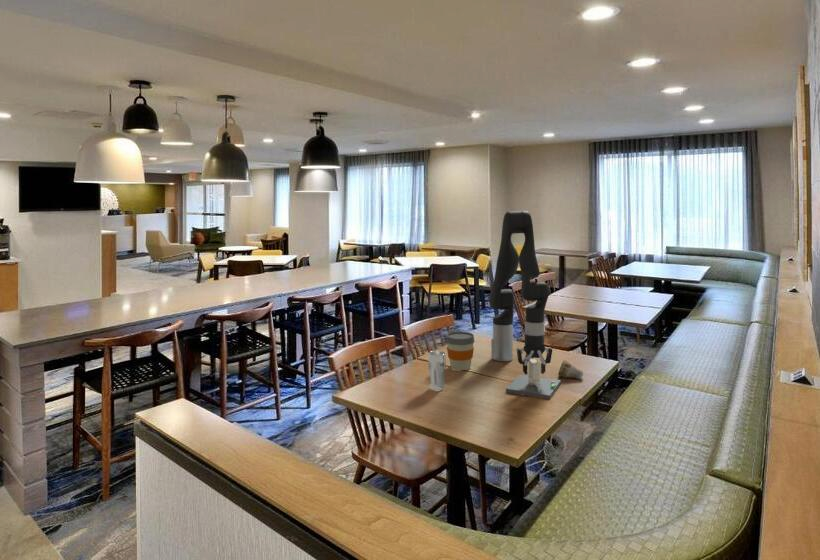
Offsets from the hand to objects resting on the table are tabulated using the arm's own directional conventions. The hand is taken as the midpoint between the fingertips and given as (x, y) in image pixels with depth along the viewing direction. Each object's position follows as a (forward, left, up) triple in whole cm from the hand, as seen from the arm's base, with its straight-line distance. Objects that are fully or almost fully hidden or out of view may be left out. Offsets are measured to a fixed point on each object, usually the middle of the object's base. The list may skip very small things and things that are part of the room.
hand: (534, 373), depth 205 cm
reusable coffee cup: (-37, +11, -6) cm, 39 cm away
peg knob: (+1, -1, -4) cm, 5 cm away
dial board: (0, 0, -6) cm, 6 cm away
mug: (+10, +19, -6) cm, 22 cm away
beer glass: (-35, -17, -6) cm, 39 cm away
